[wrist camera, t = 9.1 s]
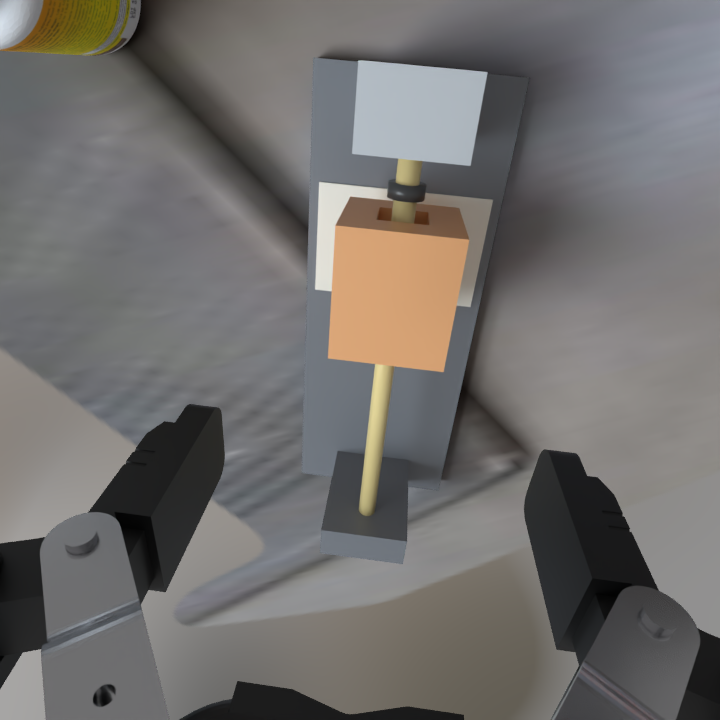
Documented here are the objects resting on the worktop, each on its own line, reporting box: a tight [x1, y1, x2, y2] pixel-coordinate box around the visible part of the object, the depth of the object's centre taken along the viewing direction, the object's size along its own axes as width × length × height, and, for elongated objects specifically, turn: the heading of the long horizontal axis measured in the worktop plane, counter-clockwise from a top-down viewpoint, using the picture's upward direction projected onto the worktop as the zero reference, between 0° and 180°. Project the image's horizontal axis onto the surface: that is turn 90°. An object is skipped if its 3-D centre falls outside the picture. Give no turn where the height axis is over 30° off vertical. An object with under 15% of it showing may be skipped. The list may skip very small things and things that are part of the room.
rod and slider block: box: [302, 58, 530, 564], centre depth 27 cm, size 26×10×8 cm, turn 175°
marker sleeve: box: [328, 196, 469, 372], centre depth 23 cm, size 6×5×5 cm
